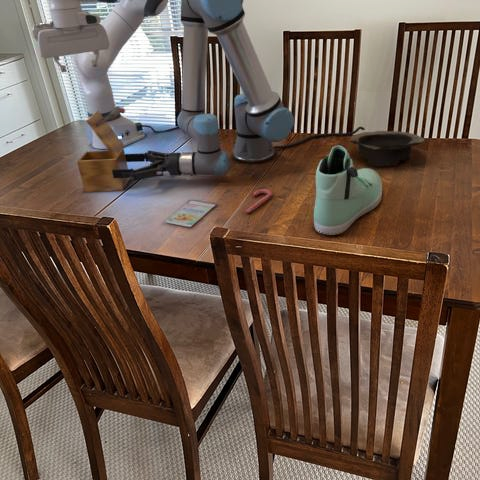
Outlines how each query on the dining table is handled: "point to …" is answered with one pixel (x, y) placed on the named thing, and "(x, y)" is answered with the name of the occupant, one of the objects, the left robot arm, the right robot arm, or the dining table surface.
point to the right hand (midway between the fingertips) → (119, 165)
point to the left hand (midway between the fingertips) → (79, 69)
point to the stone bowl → (385, 146)
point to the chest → (102, 171)
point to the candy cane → (261, 201)
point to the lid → (106, 131)
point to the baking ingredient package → (190, 213)
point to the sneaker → (343, 192)
